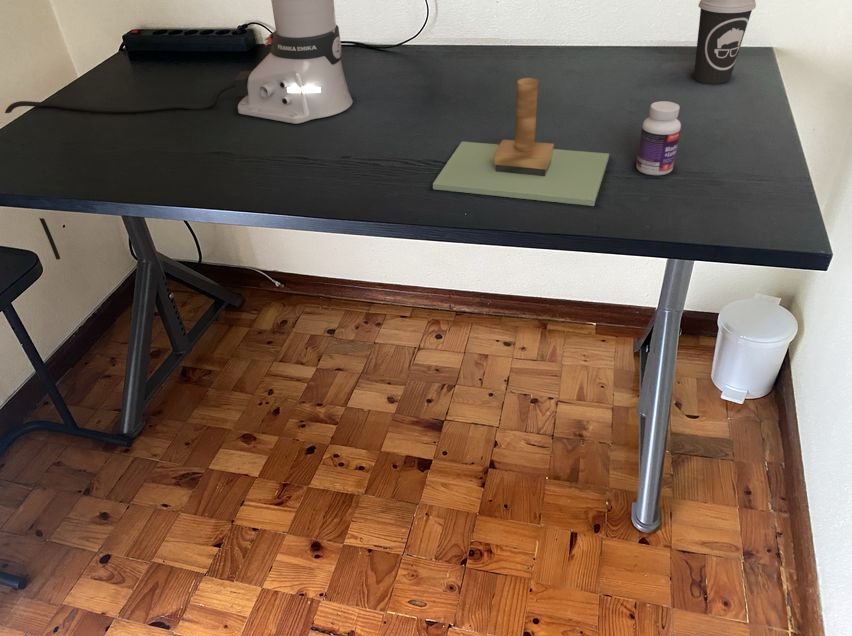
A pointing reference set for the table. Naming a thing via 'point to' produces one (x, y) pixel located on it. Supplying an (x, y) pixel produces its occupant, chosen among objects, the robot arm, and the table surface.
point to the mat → (524, 176)
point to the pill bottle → (659, 139)
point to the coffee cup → (720, 38)
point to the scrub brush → (524, 137)
